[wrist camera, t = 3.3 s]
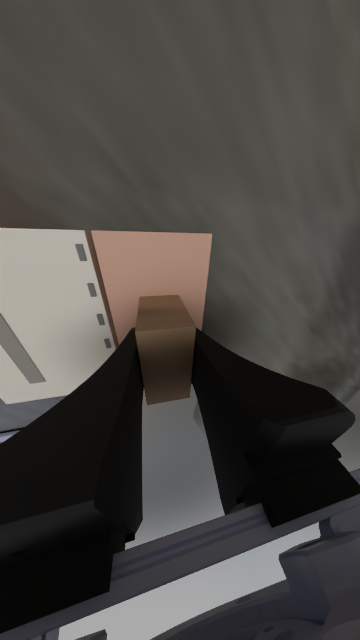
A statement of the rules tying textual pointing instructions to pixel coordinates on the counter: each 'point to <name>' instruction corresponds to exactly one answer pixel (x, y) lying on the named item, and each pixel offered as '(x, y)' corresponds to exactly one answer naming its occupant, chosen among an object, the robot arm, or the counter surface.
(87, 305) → the board
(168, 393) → the stub
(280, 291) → the counter surface
